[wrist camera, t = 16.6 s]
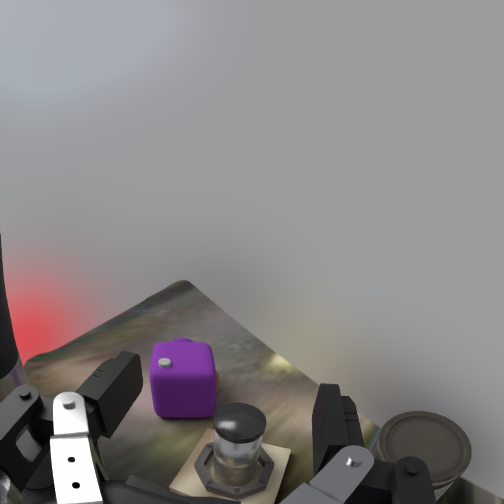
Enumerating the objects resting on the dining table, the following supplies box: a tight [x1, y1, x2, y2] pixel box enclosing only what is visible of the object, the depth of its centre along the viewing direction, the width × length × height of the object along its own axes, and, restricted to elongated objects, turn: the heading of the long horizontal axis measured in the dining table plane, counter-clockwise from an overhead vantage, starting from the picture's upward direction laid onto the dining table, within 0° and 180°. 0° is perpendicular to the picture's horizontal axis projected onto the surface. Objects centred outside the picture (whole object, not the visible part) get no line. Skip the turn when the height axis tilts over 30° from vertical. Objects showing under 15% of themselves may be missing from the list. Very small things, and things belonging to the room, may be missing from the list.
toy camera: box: [150, 338, 219, 418], centre depth 44 cm, size 11×14×10 cm
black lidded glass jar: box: [213, 403, 266, 486], centre depth 29 cm, size 5×5×10 cm
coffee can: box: [371, 411, 471, 501], centre depth 21 cm, size 10×10×14 cm
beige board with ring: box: [169, 428, 291, 504], centre depth 30 cm, size 12×12×2 cm
